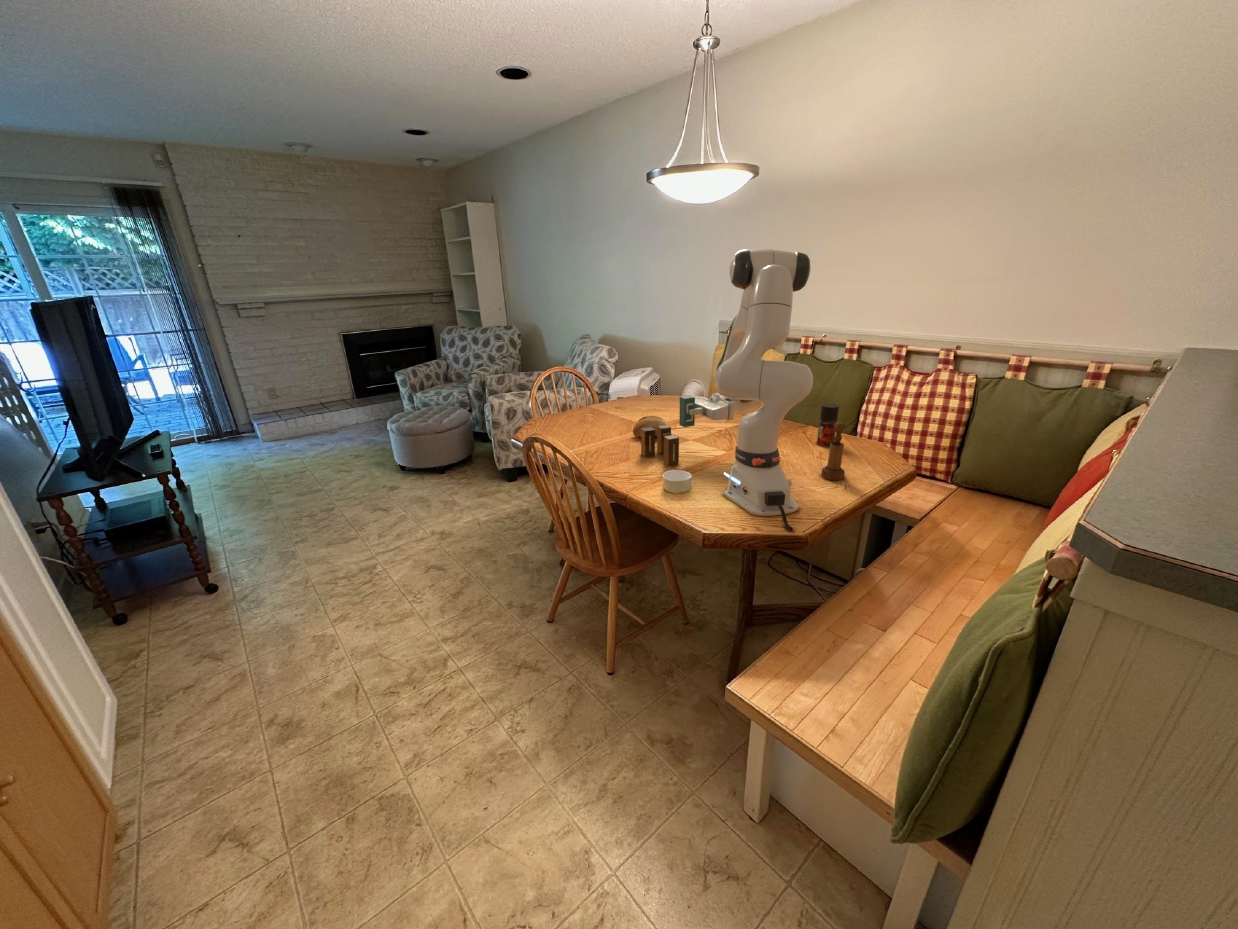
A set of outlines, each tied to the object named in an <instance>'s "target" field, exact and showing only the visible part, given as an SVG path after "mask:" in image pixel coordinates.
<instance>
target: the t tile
mask: <svg viewBox="0 0 1238 929" xmlns="http://www.w3.org/2000/svg"><path fill="white" fill-rule="evenodd" d="M670 435H672V427H671V426H670V425H668V424H667V425H661V426H657V436H656V453H658V454H660V455H664V436H670Z"/></svg>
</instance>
